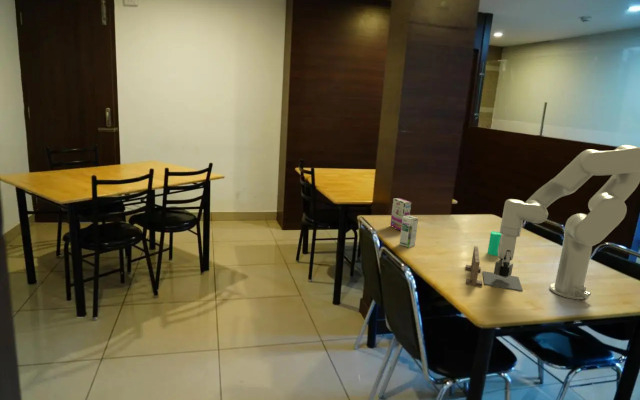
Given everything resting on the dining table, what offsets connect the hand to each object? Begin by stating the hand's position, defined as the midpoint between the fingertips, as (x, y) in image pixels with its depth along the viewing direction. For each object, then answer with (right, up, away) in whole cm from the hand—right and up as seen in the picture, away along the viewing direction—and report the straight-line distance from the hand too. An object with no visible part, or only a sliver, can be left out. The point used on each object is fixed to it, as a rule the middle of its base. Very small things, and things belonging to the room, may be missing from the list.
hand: (502, 272), depth 173 cm
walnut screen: (-10, -2, +4) cm, 12 cm away
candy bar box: (-30, +13, +65) cm, 73 cm away
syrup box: (-31, +7, +38) cm, 50 cm away
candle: (+10, +3, +34) cm, 35 cm away
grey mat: (0, -4, +1) cm, 4 cm away
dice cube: (0, -1, 0) cm, 1 cm away
